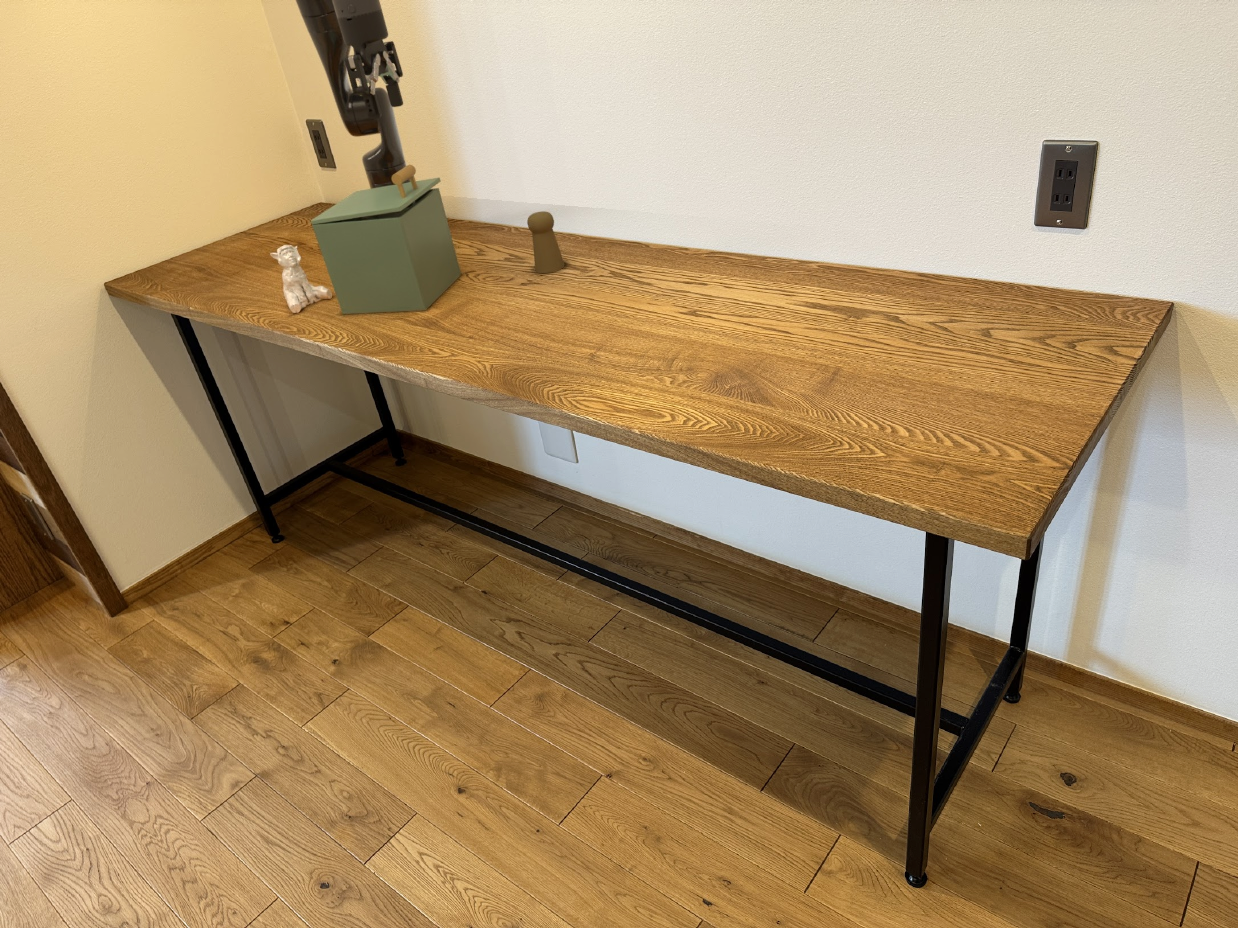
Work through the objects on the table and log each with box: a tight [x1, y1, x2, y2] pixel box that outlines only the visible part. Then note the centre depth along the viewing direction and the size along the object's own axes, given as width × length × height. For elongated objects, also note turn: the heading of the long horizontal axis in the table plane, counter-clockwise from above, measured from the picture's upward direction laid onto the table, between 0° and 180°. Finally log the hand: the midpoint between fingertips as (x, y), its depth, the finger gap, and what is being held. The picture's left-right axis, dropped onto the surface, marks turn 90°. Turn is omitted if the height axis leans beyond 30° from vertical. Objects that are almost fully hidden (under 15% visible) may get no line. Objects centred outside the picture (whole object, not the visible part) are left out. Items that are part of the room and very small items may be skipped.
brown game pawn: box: [526, 210, 565, 274], centre depth 175 cm, size 6×6×11 cm
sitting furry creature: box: [269, 244, 333, 314], centre depth 180 cm, size 10×9×12 cm
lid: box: [310, 164, 441, 226], centre depth 167 cm, size 19×18×5 cm
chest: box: [311, 187, 462, 315], centre depth 173 cm, size 18×18×18 cm
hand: (387, 112), depth 158 cm, fingers open, 8 cm apart
